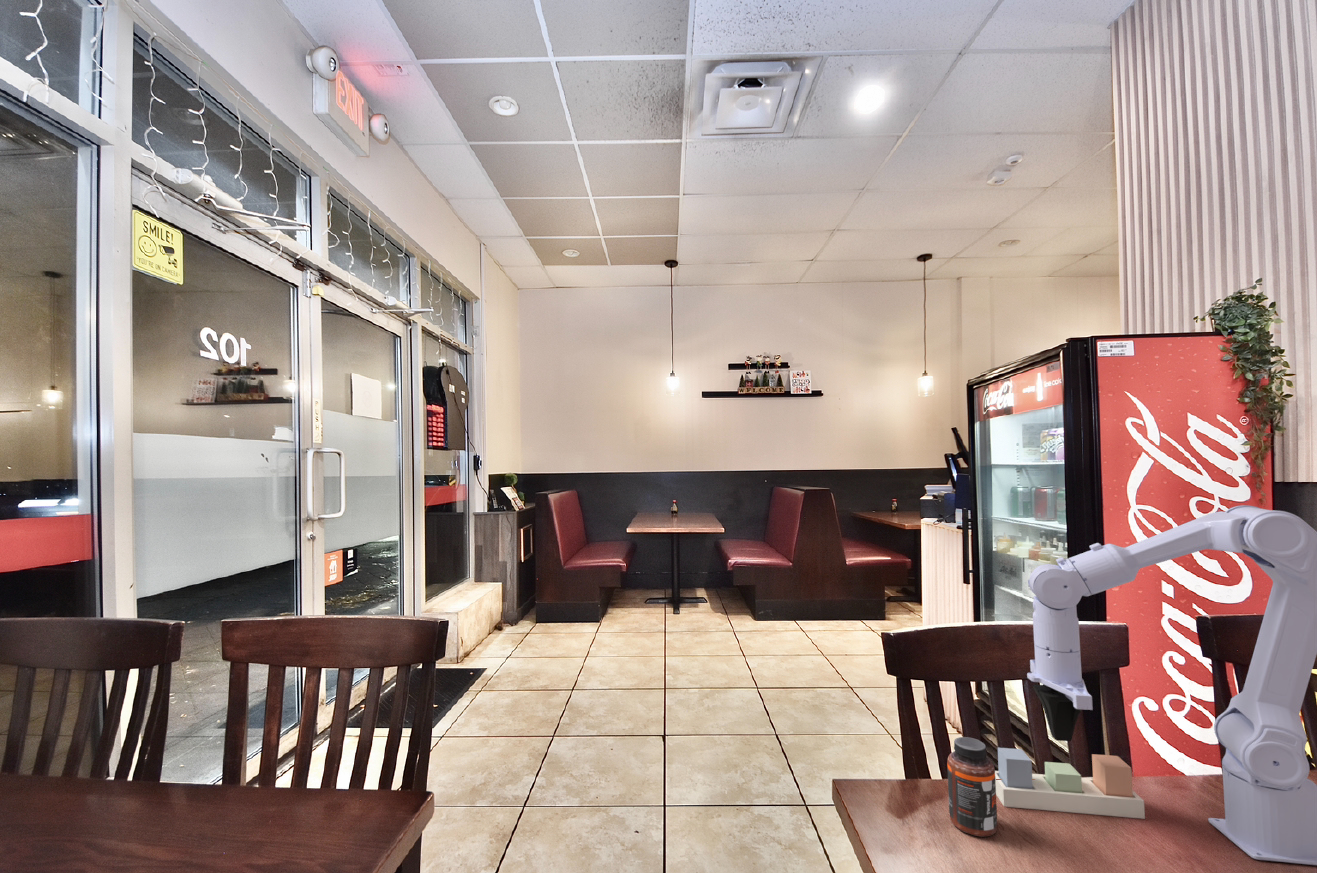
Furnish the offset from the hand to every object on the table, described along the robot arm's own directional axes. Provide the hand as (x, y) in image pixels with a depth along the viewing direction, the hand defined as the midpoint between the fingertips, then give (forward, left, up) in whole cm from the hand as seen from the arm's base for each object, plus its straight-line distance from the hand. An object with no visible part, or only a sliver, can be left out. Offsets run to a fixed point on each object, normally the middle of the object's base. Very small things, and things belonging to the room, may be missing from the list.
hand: (1061, 738), depth 86 cm
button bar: (0, 0, -9) cm, 9 cm away
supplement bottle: (+15, +8, -10) cm, 20 cm away
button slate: (+7, 0, -7) cm, 10 cm away
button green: (0, 0, -9) cm, 9 cm away
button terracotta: (-6, 0, -7) cm, 10 cm away
